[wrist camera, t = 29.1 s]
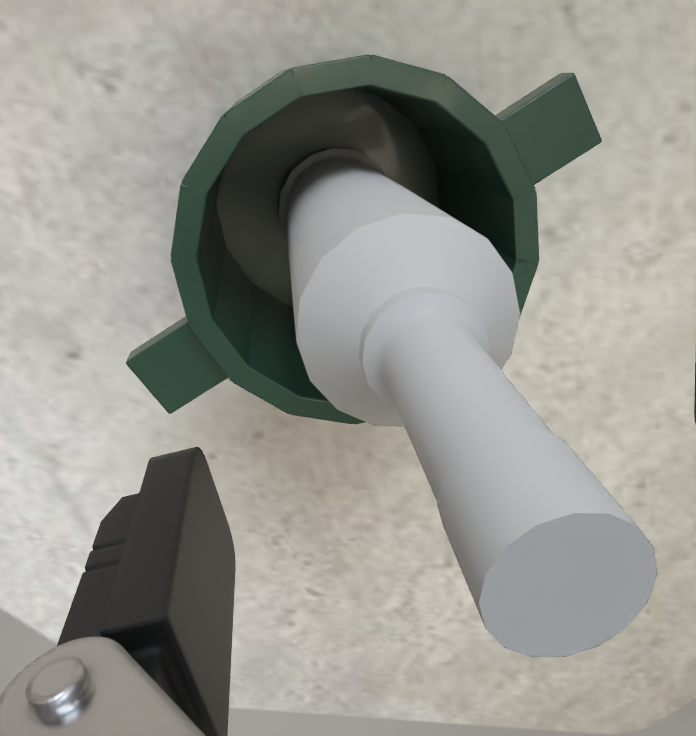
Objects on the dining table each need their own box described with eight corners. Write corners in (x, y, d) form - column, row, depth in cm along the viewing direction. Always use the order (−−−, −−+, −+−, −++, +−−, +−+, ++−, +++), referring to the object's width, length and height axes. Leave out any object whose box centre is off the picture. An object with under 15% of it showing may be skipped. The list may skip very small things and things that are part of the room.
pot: (97, 197, 29) (18, 254, 20) (428, -30, 27) (520, -90, 18) (249, 392, 34) (245, 515, 24) (542, 210, 32) (663, 265, 22)
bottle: (370, 272, 32) (658, 769, 9) (264, 243, 30) (280, 728, 8) (406, 164, 30) (883, 437, 7) (294, 128, 29) (434, 315, 6)
